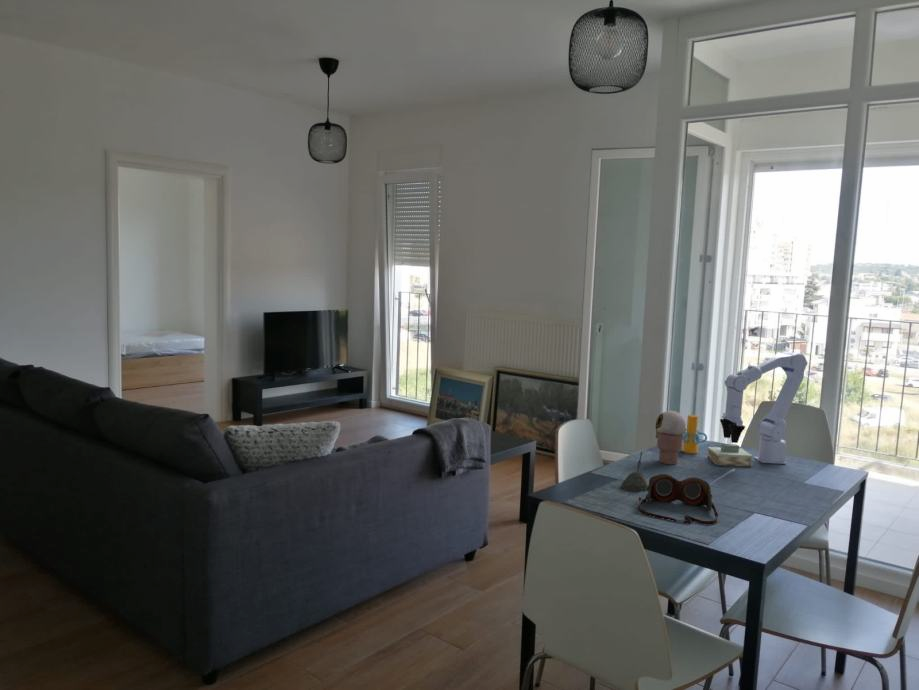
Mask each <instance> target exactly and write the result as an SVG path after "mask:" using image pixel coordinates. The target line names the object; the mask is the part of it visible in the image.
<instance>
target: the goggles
mask: <svg viewBox="0 0 919 690" xmlns="http://www.w3.org/2000/svg"><path fill="white" fill-rule="evenodd" d="M647 486H648V487H647V490H646V492H647V493H646V495H645V498H642V497H640V496H639V497H638V501H639V503H637V507H636V508H637V510H638V512H640V514H642V513H643V514H642V515H645V514H646V515H645V516H648V515H651V516H650V517H652V516H655V517H654V518H656V517H659V518H658V519H661V518H664V519H663V520H665V519H670V520H674V521H673V522H675V521H678V522H677V523H680V522H682V523H681V524H686V523H688V524H687V525H691V524H692V522H694V521H695V522H694V523H697V522H698V523H697V524H701V523H702V524H701V525H715V524H716V523H717V521H718V517H719V514H718V512H717V508H716V506H715V505H714V502H713V501H712V498H713V494H712V488H711V485H710V483H708V482H707V481H705V480H703V479H702V478H699V477H695V476H693V477H688V478H685V479H683V480H678V479H676V478H675V477H673V476H672V475H669V474H665V473H661V474H660V473H659V474H656V475H654V476H651V477H650V478H649V482H648V484H647ZM651 501H654V502H662V503H673V502H676V501H680V502H681V503H683V504H684V505H688V506H689V505H690V506H695V507H696V506H697V507H703V506H706V509H707V511H708V512H711V511H712V510H713V513H714V517H715V518H714V519H712V520H704V519H700V518H699V519H698V518H696V517H693V516H690V515H686V514H685V515H684V519H680V518H676V517H675V518H674V517H671V516H666V515H661V514H656V513H653V512H649V511H647V510H644V509H642V508H641V507H642V506H643V504H645V503H646V502H647V504H649V505H650V504H651ZM685 519H686V520H685ZM670 520H669V521H670ZM714 523H715V524H714Z"/></svg>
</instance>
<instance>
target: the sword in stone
mask: <svg viewBox="0 0 919 690" xmlns="http://www.w3.org/2000/svg"><path fill="white" fill-rule="evenodd" d="M642 454H643V452H642V451H641V452H640V457H639V460H638V461H637V471H632V472H631V473H629V474H628V475H627V476H626V477H625V479H624V480H623V481H622V483H621V485H620V487H619V488H620V489H622V490H624V491H626V492H636V493H641V491H643V492H647V487H648V483H647V482H646V478H645V476H644V475H643V473H642V472H641V471H639V469H640V468H641V464H642V462H641V460H642V456H643V455H642Z"/></svg>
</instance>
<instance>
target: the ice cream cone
mask: <svg viewBox="0 0 919 690" xmlns="http://www.w3.org/2000/svg"><path fill="white" fill-rule="evenodd" d="M655 421H656V422H655V430H656V431H655V432H656V434H655V439H656V446H657V449H659V454H658V462H659V463H661V464H665V465H676V464H677V463H678V457H679V456H678V455H679V452H680V451H681V450H682V448H683V440H682V439H683V433H684V431H685V429H687V422H686V419H685V418H684V416H683V415H682V414H681V413H679V412H678V411H675V410H665V411H663V412H661V413H660V414H659V415H658V417H657V419H656V420H655Z"/></svg>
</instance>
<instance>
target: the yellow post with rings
mask: <svg viewBox="0 0 919 690" xmlns="http://www.w3.org/2000/svg"><path fill="white" fill-rule="evenodd" d="M686 421H687V422H686V429H685V431H684V433H683V439H682V448H681V450H682V452H683V453H686V454H698V451H699V443H702V444H703V443H705V442H707V440H708V436H707V434H706V433H705V432H702V431H701V432H700V431H699V430H698V422H699V416H698V415H696V414H687V420H686ZM700 435H703V436H704V439H703V440H700Z"/></svg>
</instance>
